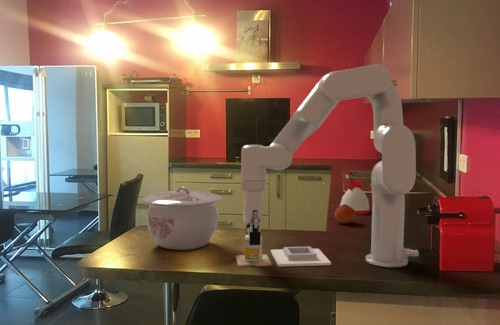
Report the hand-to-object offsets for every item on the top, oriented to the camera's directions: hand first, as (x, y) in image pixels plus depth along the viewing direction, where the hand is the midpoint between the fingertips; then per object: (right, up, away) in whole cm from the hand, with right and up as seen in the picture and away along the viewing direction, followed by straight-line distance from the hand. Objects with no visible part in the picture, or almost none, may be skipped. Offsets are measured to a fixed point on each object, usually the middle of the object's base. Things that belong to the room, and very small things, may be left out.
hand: (253, 240), depth 151 cm
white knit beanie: (+49, 0, +84) cm, 97 cm away
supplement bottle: (0, -6, 0) cm, 6 cm away
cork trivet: (0, -6, +1) cm, 6 cm away
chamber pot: (-24, -5, +19) cm, 31 cm away
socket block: (+15, -6, +4) cm, 16 cm away
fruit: (+39, -2, +57) cm, 69 cm away
